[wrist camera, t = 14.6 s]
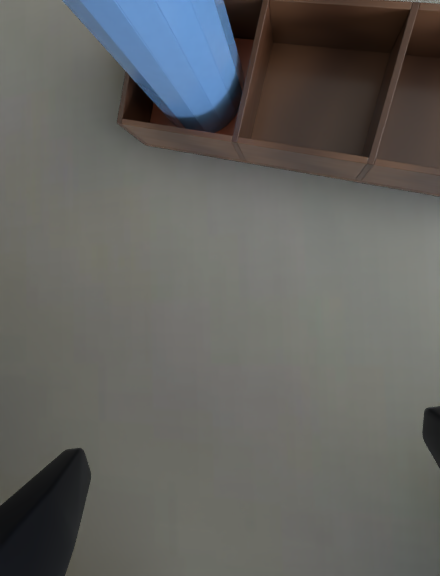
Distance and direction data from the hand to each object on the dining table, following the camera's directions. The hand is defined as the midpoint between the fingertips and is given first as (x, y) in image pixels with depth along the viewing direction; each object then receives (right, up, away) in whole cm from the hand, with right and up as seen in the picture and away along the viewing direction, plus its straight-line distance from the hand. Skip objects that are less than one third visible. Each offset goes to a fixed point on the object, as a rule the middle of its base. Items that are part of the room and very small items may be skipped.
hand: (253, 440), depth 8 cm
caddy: (+4, +14, +10) cm, 18 cm away
